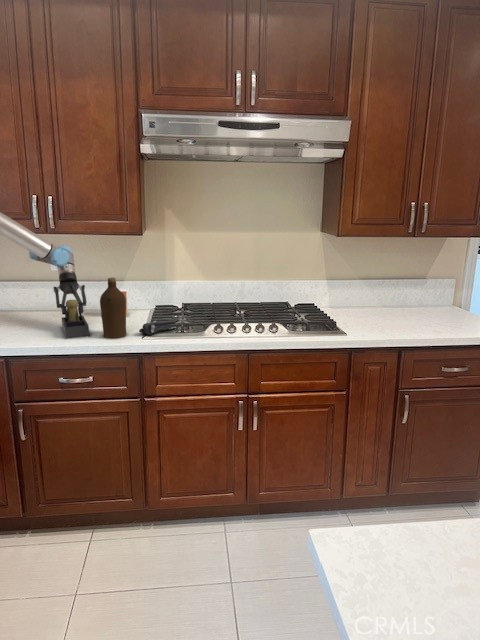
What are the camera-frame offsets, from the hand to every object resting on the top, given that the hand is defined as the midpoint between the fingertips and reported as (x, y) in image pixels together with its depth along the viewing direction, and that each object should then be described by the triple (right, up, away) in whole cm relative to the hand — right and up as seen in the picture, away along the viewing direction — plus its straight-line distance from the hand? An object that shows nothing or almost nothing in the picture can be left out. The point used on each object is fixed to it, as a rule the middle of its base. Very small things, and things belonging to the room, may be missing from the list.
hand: (74, 319), depth 203 cm
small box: (+12, +2, +29) cm, 31 cm away
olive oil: (+19, -7, -3) cm, 20 cm away
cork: (-2, -2, +4) cm, 5 cm away
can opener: (+37, -6, +2) cm, 37 cm away
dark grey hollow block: (0, -6, +1) cm, 6 cm away
